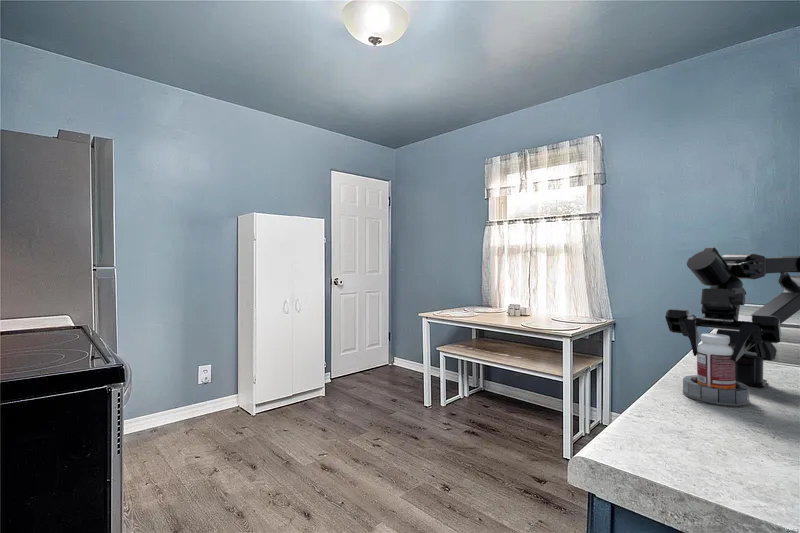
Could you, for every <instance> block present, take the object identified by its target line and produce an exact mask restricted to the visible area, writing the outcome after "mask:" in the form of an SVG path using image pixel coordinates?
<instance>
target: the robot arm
mask: <svg viewBox="0 0 800 533" xmlns="http://www.w3.org/2000/svg"><path fill="white" fill-rule="evenodd" d="M686 266H687V268H688V269H689V270H690V271H691V272H692V274H693V275H694V276H695V277H696V279H698V281H699V283H701V284H702V285H703V286H707V287H709V288H702V289H701V298H700V304H701V310H700V311H701V314H702V315H704V316H696V315H695V314H692V313H690V312H689V310H688V309H679V308H678V309H677V308H676V309H675V308H670V309H668V310H667V311H665V312H666V313H665V320H666V324H667V326H668V329H669V330H668V331H670V332H671V333H676V334H681V335H683V336H684V337H687V338H688V340H689V342H690V345H691V350H692V355H693V357H697V347H698V346H699V340H700V339H699V338H700V337H699V336H700V335H699V331H698V327H699V328H700V327H701V328H707V329H712V330H716V333H715V334H723V335H727V336H729V337H730V343H729V344H728V345H729V346H730V347H732V348H733V349H734V356H733V360H734V361H735V381H737V382H741V383H743V384H745V385H747V386H749V387H750V386H751V387H756V388H762V389H763V388H765V387H766V385H767V383H768V380H767V379H764V361H773V360H775V359H776V356H777V348H776V347H775V346H774V345H773V344H778V343H781V339H782V338H781V337H782V335H781V333H782V330H781V324H783V323H784V322H785V321H787V320H788V319H789V318H791V317H792V316H794V315H795V314H796V313H798V312H799V311H800V275H790V274H789V273H800V255H783V256H775V257H771V256H770V257H766V256H765V255H763V254H758V253H757V254H756V253H730V254H729V253H728V254H727V253H725V254H722V255H721V254H720V253H719V251H718V249H717V248H716V247H715V246H714V247H705V248H704V249H703V250H702V251H700V252H697V253H695V254H694V255H692V256H691V257H689V258H688V259H687V261H686ZM778 273H779V274H780V275H779V278H778V283H779V285H780V286H781V288H782V292H781V293H779V294H778V295H777V296H775V297H774V298H772V299H771V300H770V301H768V302H767V303H765V304H764V305H763V306H761V307H760V308H759V309H757V310H755V311H754V312H753V313H752V314H750V315H746V314H740V309H741V308H740V307H741V306H745V303H746V295H747V291H746V289H745V287H744V284H743V281H742V280H757V279H761V278H764V277H765V276H766V275H767V274H778Z"/></svg>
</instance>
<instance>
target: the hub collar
mask: <svg viewBox="0 0 800 533" xmlns="http://www.w3.org/2000/svg"><path fill="white" fill-rule="evenodd" d="M735 384H736V387H735V389H723V388H714V387H709V386H704V385H701V384H698V382H697V374H695V375H685V376H684V377H683V378H682V395H684V396H685V397H687V398H688V399H690V400H692V401H693V400H694V401H696V402H699V403H703V404H707V405H708V404H709V405H713V406H717V407H727V408H744V407H748V406H750V402H751V400H750V386H749V385H745V384H743V383H741V382H737V381H735Z"/></svg>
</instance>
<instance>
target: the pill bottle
mask: <svg viewBox="0 0 800 533" xmlns="http://www.w3.org/2000/svg"><path fill="white" fill-rule="evenodd" d="M700 341H701V342H702V343H701V344H698V347H697V355H696V367H697V368H696V373H697V374H696V375H697V382H698V384H701V385H704V386H709V387H714V388H723V389H735V387H736V384H735V361H734V360H733V356H734V349H733V348H732V347H730V346H729V345H728V344H729V343H730V337H729V336H727V335H723V334H716V333H712V332H710V333H707V332H706V333H705V332H704V333H701V334H700Z"/></svg>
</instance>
